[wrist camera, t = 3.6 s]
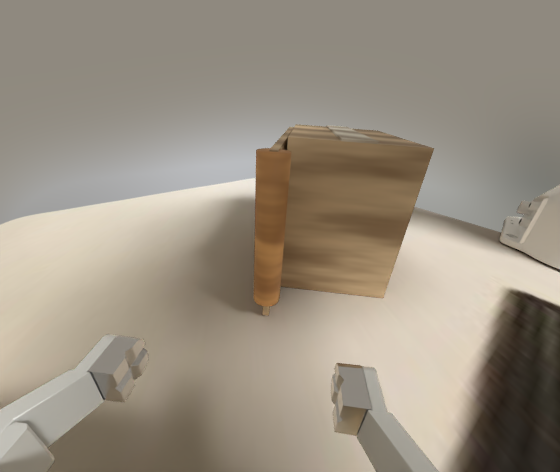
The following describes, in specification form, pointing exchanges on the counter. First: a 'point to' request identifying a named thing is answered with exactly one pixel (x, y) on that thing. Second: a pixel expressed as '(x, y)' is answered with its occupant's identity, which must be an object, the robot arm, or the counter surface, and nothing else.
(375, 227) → the carton
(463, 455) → the counter surface
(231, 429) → the counter surface
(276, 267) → the carton flap
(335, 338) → the counter surface
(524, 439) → the counter surface
